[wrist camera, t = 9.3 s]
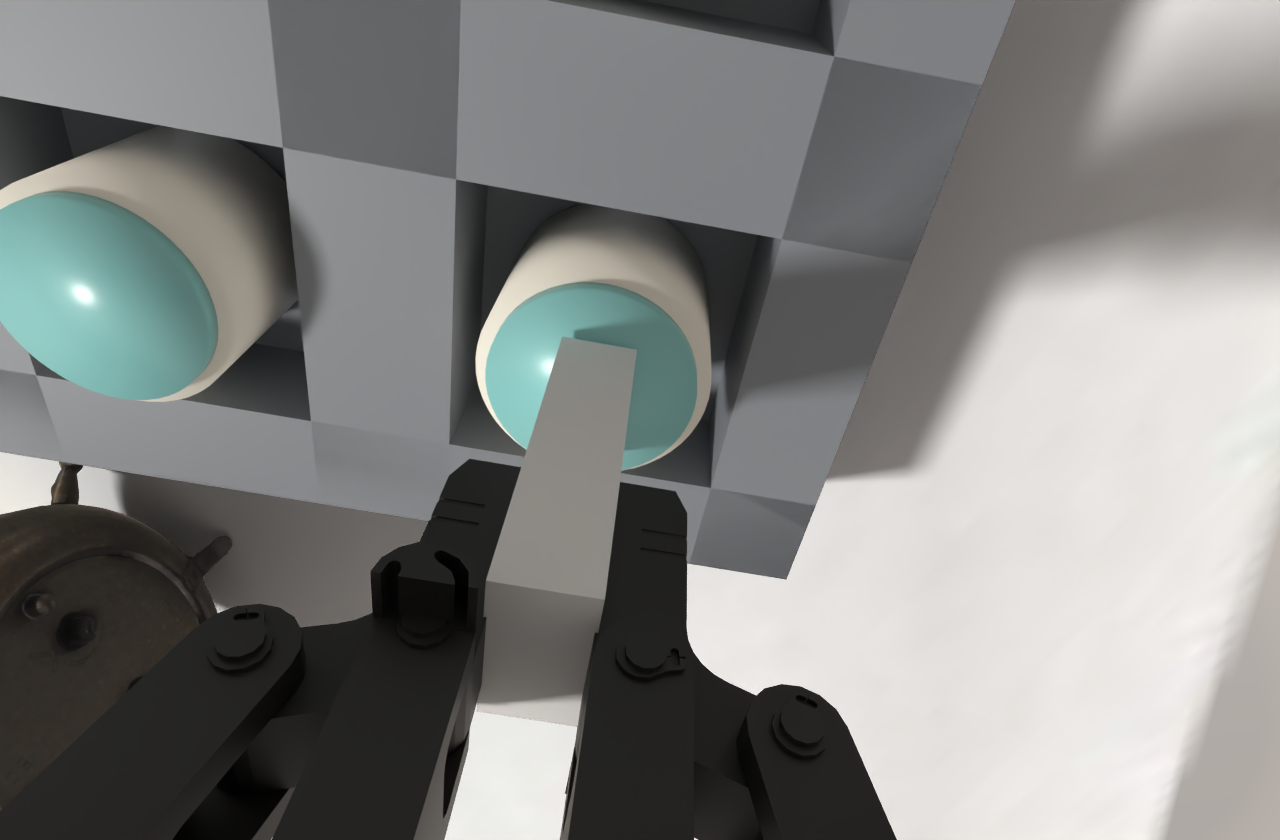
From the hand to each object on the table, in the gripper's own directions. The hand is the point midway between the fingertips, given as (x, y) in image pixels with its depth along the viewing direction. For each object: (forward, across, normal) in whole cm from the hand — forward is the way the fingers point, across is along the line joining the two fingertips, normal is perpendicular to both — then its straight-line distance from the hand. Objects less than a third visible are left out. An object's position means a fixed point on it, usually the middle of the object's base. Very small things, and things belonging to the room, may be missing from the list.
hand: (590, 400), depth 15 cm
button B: (+5, 0, 0) cm, 5 cm away
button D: (+5, -10, 0) cm, 11 cm away
